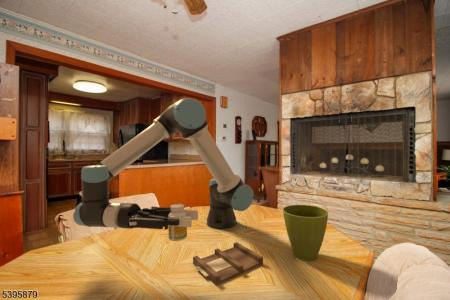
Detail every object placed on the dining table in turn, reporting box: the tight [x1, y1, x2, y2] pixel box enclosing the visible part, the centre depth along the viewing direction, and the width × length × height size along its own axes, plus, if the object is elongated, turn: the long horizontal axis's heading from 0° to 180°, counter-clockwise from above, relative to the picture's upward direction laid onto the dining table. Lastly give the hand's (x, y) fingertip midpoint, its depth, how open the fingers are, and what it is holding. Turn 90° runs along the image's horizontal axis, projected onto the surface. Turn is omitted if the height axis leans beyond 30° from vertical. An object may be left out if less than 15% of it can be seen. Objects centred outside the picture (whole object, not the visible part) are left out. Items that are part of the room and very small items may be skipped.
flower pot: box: [282, 204, 329, 261], centre depth 76 cm, size 15×15×16 cm
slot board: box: [192, 241, 264, 286], centre depth 71 cm, size 14×20×2 cm
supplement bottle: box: [167, 203, 188, 242], centre depth 64 cm, size 5×5×10 cm
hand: (194, 218), depth 64 cm, fingers closed on supplement bottle, 5 cm apart
